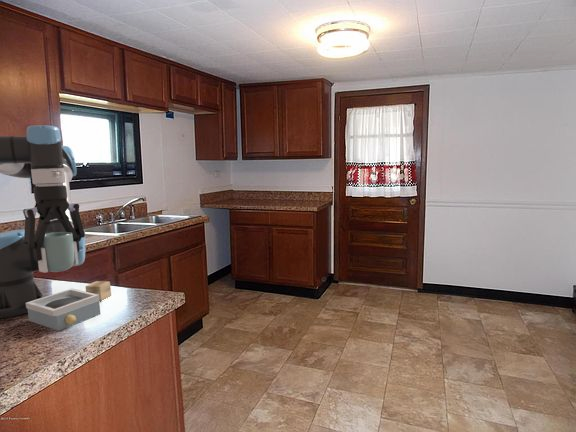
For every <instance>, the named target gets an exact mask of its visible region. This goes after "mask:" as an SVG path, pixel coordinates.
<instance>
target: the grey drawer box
mask: <svg viewBox="0 0 576 432" xmlns="http://www.w3.org/2000/svg"><path fill="white" fill-rule="evenodd" d="M98 300H100V299H99V295H98V294H93V293H89V292H86V290H85V291H84V290H81V289H76V288H68V289H65V290H62V291H59V292H56V293H52V294H50V295H46V296H43V298H40V299H36V300H33V301H30V302H27V303H26V308H27V309H28V313H27V316H28V321H29V322H31V323H34V324H37V325H40V326H43V327H46V328H50V329H52V330H56V331H62V330H64V329H67V328H69V327H72V326H74V325H77V324H79V323H81V321H82V322H84V321H86V319H87V320H89V319H92V318H94V317H96V315H97V316H99V315H101V307H100V306H101V305H100V302H99V301H98ZM98 314H99V315H98ZM93 316H94V317H93ZM91 317H92V318H91Z"/></svg>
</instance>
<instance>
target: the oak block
mask: <svg viewBox="0 0 576 432" xmlns="http://www.w3.org/2000/svg"><path fill="white" fill-rule="evenodd" d="M111 289H112V287H111V281H108V280H107V281H105V280H104V281H101V280H96V281H94V282H91V283H89V284H87V285H85V292H89V293H93V294H98V295H99V299H100V300H98V301H102V300H104V299H106V298H107V299H109V298H110V296H111V297H112V292H111V291H112V290H111ZM108 297H109V298H108ZM107 299H106V300H107ZM104 301H105V300H104ZM102 302H103V301H102Z"/></svg>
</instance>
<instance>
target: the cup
mask: <svg viewBox="0 0 576 432" xmlns="http://www.w3.org/2000/svg"><path fill="white" fill-rule="evenodd" d="M41 248H45V252H46V261H47V269H48V272H52V273H58V272H59V273H60V272H64V271H68V270H69V269H71V268H72V267H73V266H72V265H73V263H74V241H73V234H72V233H71V232H55V233H48V234H45V237H44V240H43V244H42V247H41Z"/></svg>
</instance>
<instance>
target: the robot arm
mask: <svg viewBox="0 0 576 432" xmlns="http://www.w3.org/2000/svg"><path fill="white" fill-rule="evenodd" d="M0 174H2V175H6V176H10V177H13V178H20V179H31V181H32V182H31V183H32V184H33V185H35V186H34V187H33V188H32V189H33V195H34V197H33V198H34V201H35V204H34V207H31V208H24V209H22V212H23V216H24V228H22V229H14V230H8V231H4V232H0V319H5V318H12V317H17V316H20V315H24V314H28V309H27V308H26V303H27V302H30V301H33V300H36V299H40V298H43V297H44V295H43V292H41V289H40V288H39V286H38V285H37V283H36V281H35V277H34V273H35V272H40V273H48V272H49V271H48V269H47V261H46V252H45V248H41V247H42V244H43V240H44V237H45V234H48V233H55V232H71V233H72V234H73V241H74V263H73V265H72V267H76V266H80V265H83V264H84V263H85V261H86V260H85V259H86V231H85V229H84V226H83V222H82V219H81V215H80V204H78V203H72V197H71V189H70V183H71V181H72V179H73V177H76V176H77V165H76V160H75V156H74V153H73V150H72V148H71V147H69V146H68V145H67V146H66V145H63V144H62V137H61V132H60V128H59V127H57V126H54V125H45V124H43V125H41V124H40V125H37V124H36V125H35V124H34V125H29V126H27V128H26V135H11V136H10V135H9V136H8V135H0ZM37 214H38V215H39V217H38V222H37V223H38V224H37V226H36V216H37Z"/></svg>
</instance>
